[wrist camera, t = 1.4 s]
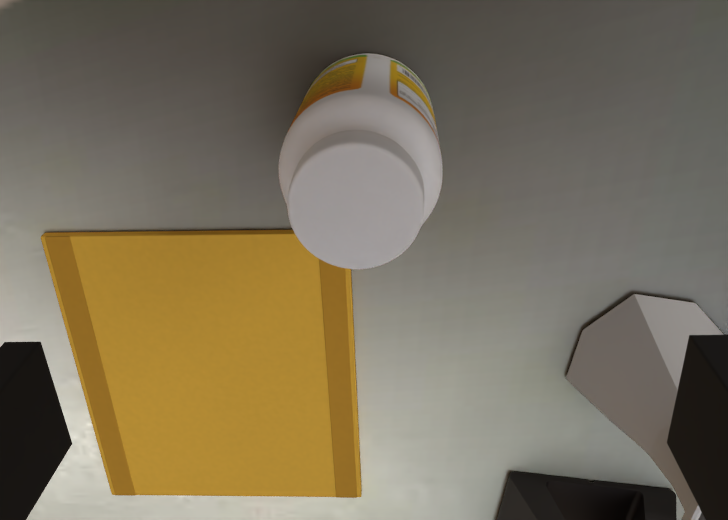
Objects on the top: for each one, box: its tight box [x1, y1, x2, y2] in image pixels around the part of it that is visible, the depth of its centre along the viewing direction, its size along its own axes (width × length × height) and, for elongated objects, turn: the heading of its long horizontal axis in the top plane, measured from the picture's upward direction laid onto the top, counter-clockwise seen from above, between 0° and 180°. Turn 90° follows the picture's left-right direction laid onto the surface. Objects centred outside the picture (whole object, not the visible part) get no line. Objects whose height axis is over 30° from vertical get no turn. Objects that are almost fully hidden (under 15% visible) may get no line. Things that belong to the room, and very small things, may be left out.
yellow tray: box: [41, 230, 362, 497], centre depth 34 cm, size 16×14×1 cm
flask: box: [566, 294, 724, 520], centre depth 28 cm, size 7×7×10 cm
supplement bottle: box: [279, 53, 443, 269], centre depth 24 cm, size 5×5×10 cm
